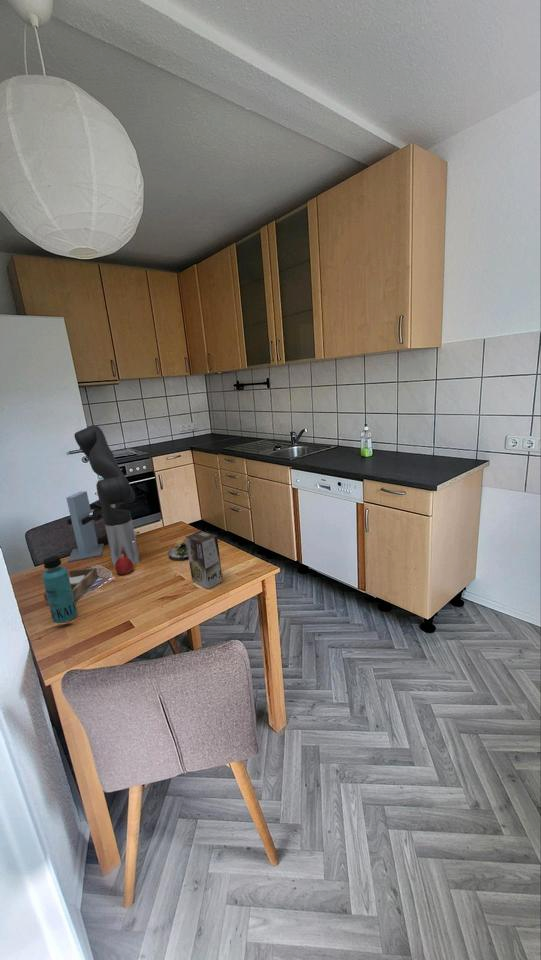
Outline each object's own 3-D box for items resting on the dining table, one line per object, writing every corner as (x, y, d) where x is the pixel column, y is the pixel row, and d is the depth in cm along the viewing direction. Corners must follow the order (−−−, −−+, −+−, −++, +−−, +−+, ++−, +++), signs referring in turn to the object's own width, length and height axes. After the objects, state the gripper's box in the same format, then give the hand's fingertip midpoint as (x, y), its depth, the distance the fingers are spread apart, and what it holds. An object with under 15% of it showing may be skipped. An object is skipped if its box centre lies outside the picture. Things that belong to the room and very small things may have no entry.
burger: (184, 564, 139) (181, 545, 137) (161, 558, 145) (158, 540, 144) (206, 550, 149) (203, 533, 147) (184, 545, 155) (181, 528, 153)
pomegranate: (118, 581, 130) (113, 560, 128) (116, 574, 135) (112, 553, 133) (135, 576, 132) (131, 555, 130) (133, 569, 137) (129, 549, 135)
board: (92, 545, 160) (80, 491, 154) (98, 546, 160) (86, 491, 153) (79, 554, 153) (66, 497, 147) (85, 554, 152) (72, 497, 146)
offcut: (66, 584, 128) (65, 579, 127) (86, 580, 130) (84, 574, 129) (64, 591, 123) (62, 586, 123) (84, 587, 125) (82, 581, 125)
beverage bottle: (60, 616, 112) (44, 554, 107) (83, 613, 113) (68, 551, 108) (49, 630, 106) (32, 565, 101) (74, 627, 106) (58, 562, 101)
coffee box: (223, 581, 125) (218, 535, 120) (208, 589, 120) (201, 542, 116) (206, 573, 131) (200, 529, 127) (191, 581, 126) (184, 536, 122)
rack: (73, 582, 132) (70, 569, 130) (98, 581, 131) (96, 568, 130) (46, 609, 116) (42, 595, 115) (74, 608, 116) (71, 593, 115)
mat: (104, 544, 162) (103, 543, 162) (101, 556, 151) (101, 554, 151) (73, 550, 159) (72, 549, 159) (68, 562, 148) (67, 561, 148)
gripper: (85, 499, 165) (57, 513, 149) (115, 499, 162) (89, 513, 146) (89, 516, 167) (61, 531, 151) (118, 516, 164) (93, 531, 148)
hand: (75, 522), depth 149 cm, fingers open, 6 cm apart
